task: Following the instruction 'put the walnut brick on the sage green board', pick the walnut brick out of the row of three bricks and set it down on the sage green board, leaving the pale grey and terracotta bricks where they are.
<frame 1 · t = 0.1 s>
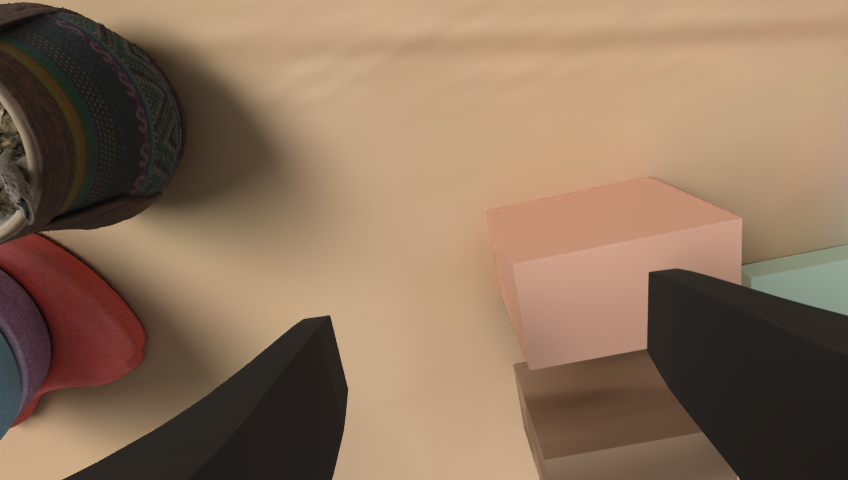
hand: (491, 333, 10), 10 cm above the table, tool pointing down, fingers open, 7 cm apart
stacking bear: (7, 309, 21), on the table
mate gourd: (125, 115, 19), on the table
sage green board: (837, 339, 22), on the table
walnut brick: (587, 383, 23), on the table
terracotta brick: (571, 236, 20), on the table
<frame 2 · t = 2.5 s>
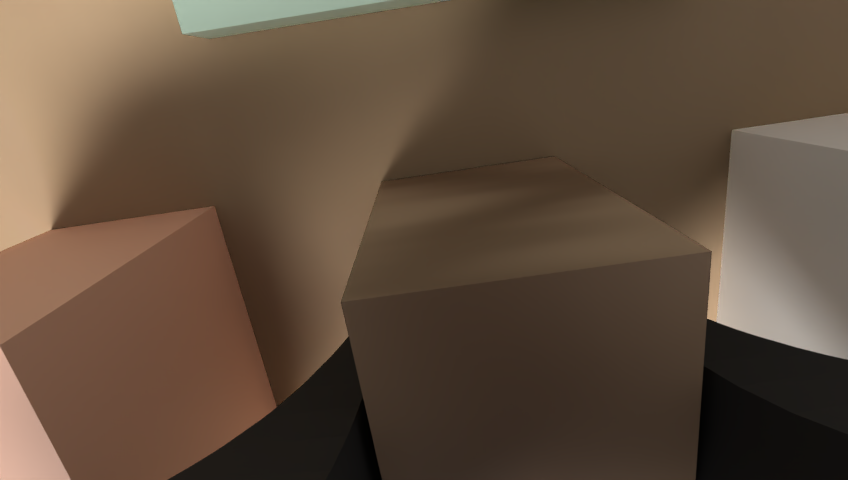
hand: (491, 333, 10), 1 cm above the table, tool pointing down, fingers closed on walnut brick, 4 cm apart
walnut brick: (482, 303, 12), on the table, touching gripper
pale grey brick: (799, 258, 12), on the table
terracotta brick: (181, 342, 12), on the table
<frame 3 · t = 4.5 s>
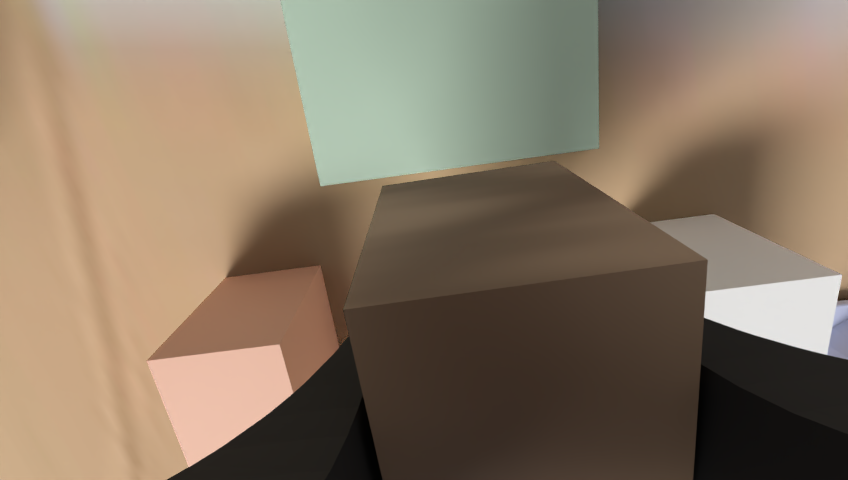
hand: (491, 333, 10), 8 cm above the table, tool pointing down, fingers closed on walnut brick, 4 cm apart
sage green board: (439, 18, 16), on the table
walnut brick: (483, 306, 12), point 7 cm above the table, touching gripper
pale grey brick: (659, 297, 20), on the table
terracotta brick: (292, 343, 20), on the table
when the fingers open (4 cm above the table, at t = 6.7 s): walnut brick drops 1 cm, resting on sage green board.
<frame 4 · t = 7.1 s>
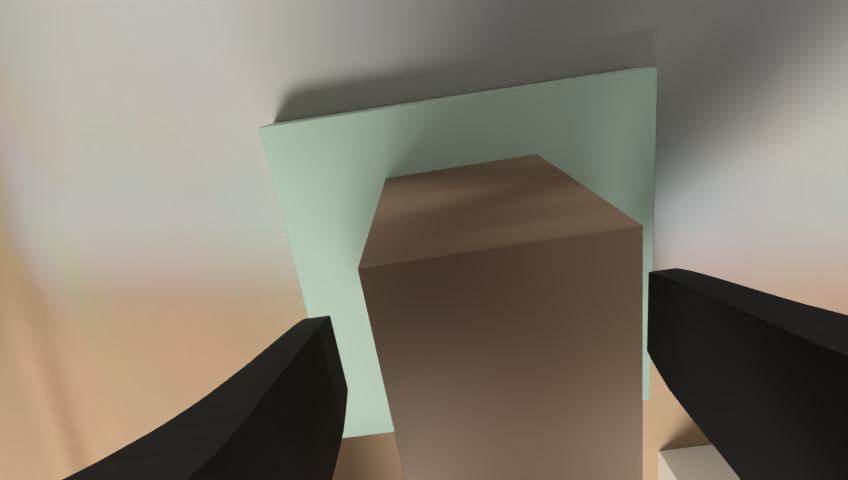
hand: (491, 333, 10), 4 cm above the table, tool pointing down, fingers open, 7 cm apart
sage green board: (471, 263, 14), on the table
walnut brick: (476, 286, 13), point 1 cm above the table, touching sage green board
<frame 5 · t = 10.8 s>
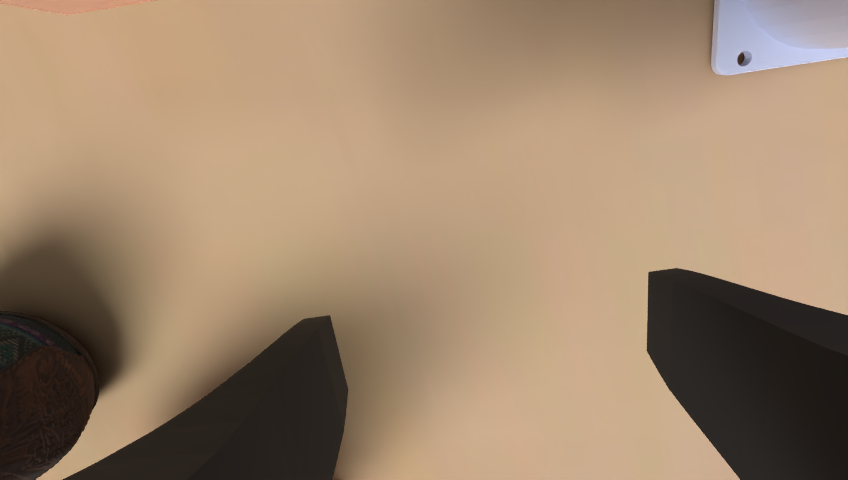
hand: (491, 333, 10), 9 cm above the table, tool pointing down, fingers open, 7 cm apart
mate gourd: (43, 354, 22), on the table
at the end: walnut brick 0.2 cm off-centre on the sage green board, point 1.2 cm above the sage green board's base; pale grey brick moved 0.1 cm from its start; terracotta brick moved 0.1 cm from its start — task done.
